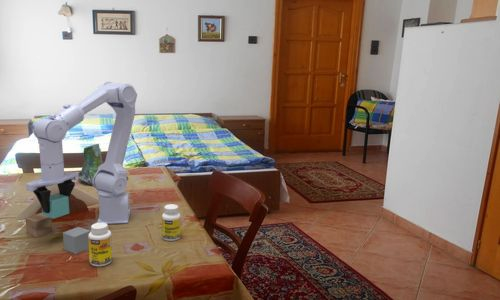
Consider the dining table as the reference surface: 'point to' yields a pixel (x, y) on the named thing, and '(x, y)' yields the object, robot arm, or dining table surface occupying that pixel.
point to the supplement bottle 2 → (171, 223)
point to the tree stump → (91, 163)
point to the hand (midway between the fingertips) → (55, 209)
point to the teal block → (58, 206)
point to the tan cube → (38, 225)
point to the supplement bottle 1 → (100, 245)
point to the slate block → (76, 240)
